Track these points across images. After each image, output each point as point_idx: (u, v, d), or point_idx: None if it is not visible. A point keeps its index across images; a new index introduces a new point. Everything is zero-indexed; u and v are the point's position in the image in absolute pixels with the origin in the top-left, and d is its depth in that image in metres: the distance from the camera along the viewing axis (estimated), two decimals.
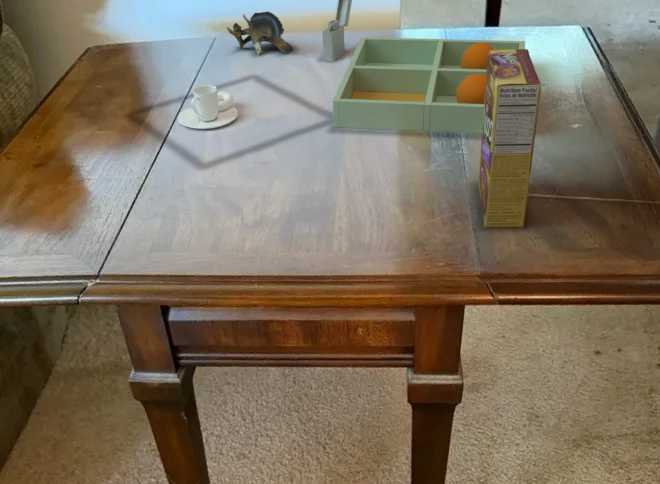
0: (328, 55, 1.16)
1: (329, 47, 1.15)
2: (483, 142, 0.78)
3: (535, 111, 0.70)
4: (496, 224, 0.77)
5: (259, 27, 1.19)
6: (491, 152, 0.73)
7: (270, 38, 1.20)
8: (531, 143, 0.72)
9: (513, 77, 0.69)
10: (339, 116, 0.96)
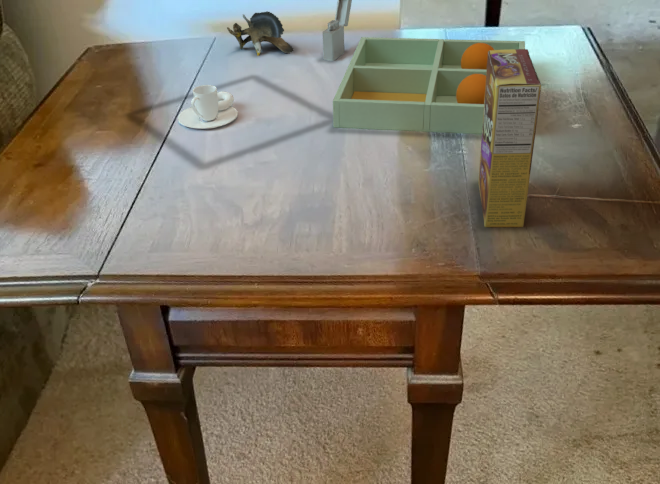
0: (328, 55, 1.16)
1: (329, 47, 1.15)
2: (483, 142, 0.78)
3: (535, 111, 0.70)
4: (496, 224, 0.77)
5: (259, 27, 1.19)
6: (491, 152, 0.73)
7: (270, 38, 1.20)
8: (531, 143, 0.72)
9: (513, 77, 0.69)
10: (339, 116, 0.96)
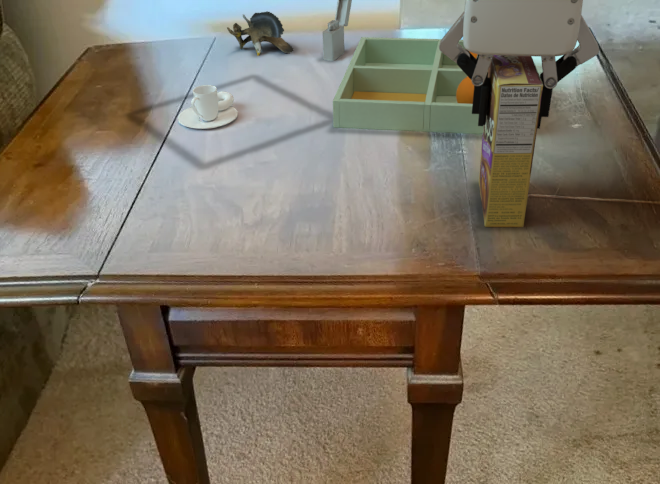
0: (328, 55, 1.16)
1: (329, 47, 1.15)
2: (484, 142, 0.78)
3: (536, 111, 0.70)
4: (496, 224, 0.77)
5: (259, 27, 1.19)
6: (492, 152, 0.73)
7: (270, 38, 1.20)
8: (532, 143, 0.72)
9: (514, 77, 0.69)
10: (339, 116, 0.96)
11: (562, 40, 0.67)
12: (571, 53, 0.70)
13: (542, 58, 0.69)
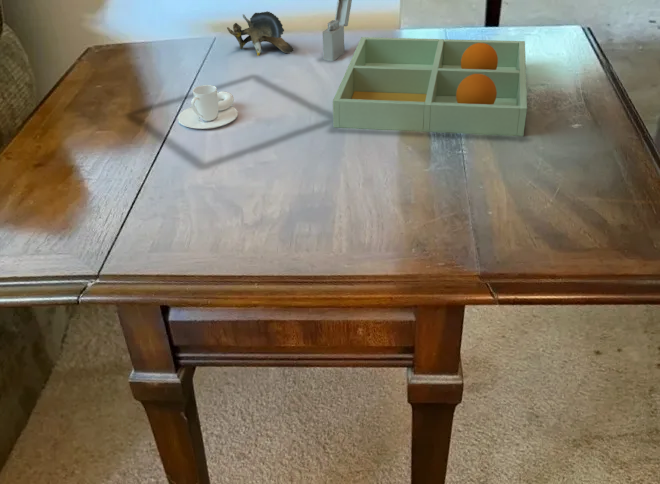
0: (328, 55, 1.16)
1: (329, 47, 1.15)
2: None
3: None
4: None
5: (259, 27, 1.19)
6: None
7: (270, 38, 1.20)
8: None
9: None
10: (339, 116, 0.96)
11: None
12: None
13: None
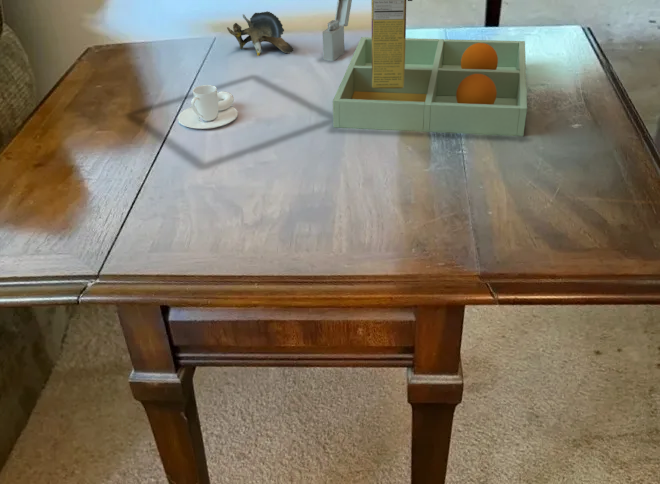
0: (328, 55, 1.16)
1: (329, 47, 1.15)
2: None
3: None
4: (381, 85, 0.94)
5: (259, 27, 1.19)
6: (372, 18, 0.89)
7: (270, 38, 1.20)
8: (403, 10, 0.88)
9: None
10: (339, 116, 0.96)
11: None
12: None
13: None
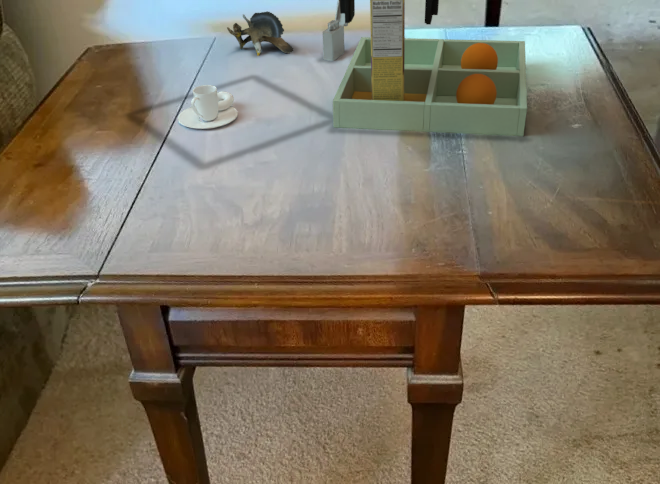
0: (328, 55, 1.16)
1: (329, 47, 1.15)
2: None
3: (402, 20, 0.89)
4: None
5: (259, 27, 1.19)
6: (371, 56, 0.92)
7: (270, 38, 1.20)
8: (401, 48, 0.91)
9: None
10: (339, 116, 0.96)
11: None
12: None
13: None
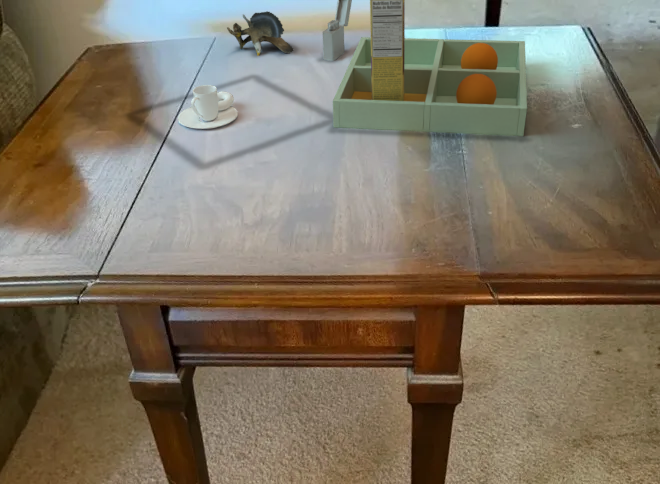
0: (328, 55, 1.16)
1: (329, 47, 1.15)
2: None
3: (402, 20, 0.89)
4: None
5: (259, 27, 1.19)
6: (371, 56, 0.92)
7: (270, 38, 1.20)
8: (401, 48, 0.91)
9: None
10: (339, 116, 0.96)
11: None
12: None
13: None
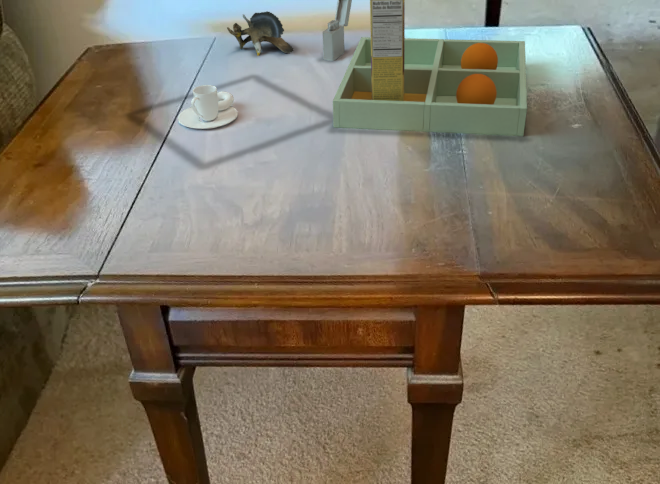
0: (328, 55, 1.16)
1: (329, 47, 1.15)
2: None
3: (402, 20, 0.89)
4: None
5: (259, 27, 1.19)
6: (371, 56, 0.92)
7: (270, 38, 1.20)
8: (401, 48, 0.91)
9: None
10: (339, 116, 0.96)
11: None
12: None
13: None
